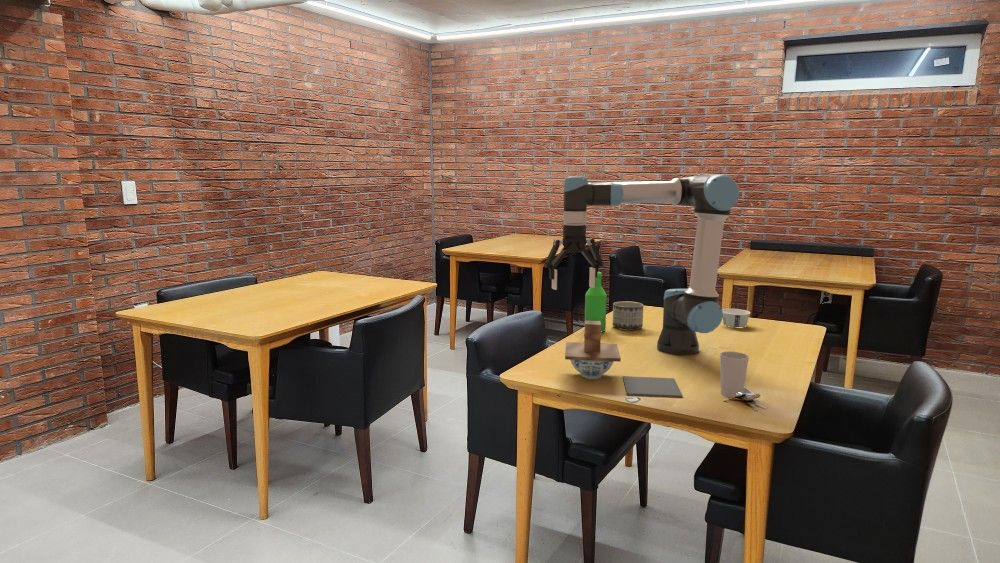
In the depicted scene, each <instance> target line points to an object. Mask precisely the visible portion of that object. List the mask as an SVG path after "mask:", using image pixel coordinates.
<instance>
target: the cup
mask: <svg viewBox="0 0 1000 563" xmlns="http://www.w3.org/2000/svg"><path fill="white" fill-rule="evenodd" d="M749 358H750V356H749V355H748V354H746V353H743V352H740V351H731V350H729V351H721V352H720V353H719V366H720V367H719V368H720V369H719V370H720V395H722V396H724V397H726V398H731V399H735V398H734V397H735V396H736V393H738V392H742V391H743V392H744V389H745V382H746V376H747V371H748V370H747V369H748V365H749Z"/></svg>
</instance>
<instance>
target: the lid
mask: <svg viewBox="0 0 1000 563" xmlns="http://www.w3.org/2000/svg"><path fill="white" fill-rule="evenodd" d="M583 339H584V342H577V341H576V342H575V341H572V342H571V341H569V342H568V341H566V342H565V353H564V354H565V355H564V360H568V361H570V360H593V361H614V362H619V363H620V362H621V359H622V358H621V354H620V350H619V346H618V343H601V340H602V332H601V322H600V321H585V320H584V338H583Z"/></svg>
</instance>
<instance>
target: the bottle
mask: <svg viewBox="0 0 1000 563" xmlns="http://www.w3.org/2000/svg"><path fill="white" fill-rule="evenodd" d="M602 277H603V273H602V272H600V271H597V277H595V288H592V287H589V288H588V290H587V291H586V292H585V295H584V296H585V297H584V300H585V301H584V322H585V321H600V322H601V331H603V332H604V331H605V330H606V327H607V326H606V325H607V324H606V322H607V300H608V299H607V296H608V295H607V293H606V291H605V289H604V288H603V286H602Z"/></svg>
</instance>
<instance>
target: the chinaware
mask: <svg viewBox="0 0 1000 563" xmlns="http://www.w3.org/2000/svg"><path fill="white" fill-rule="evenodd" d="M569 361H570V363H571V365H572V367H573V368H574V369H575V370H576V371H577V372H579V373H580V376H581V377H582V378H584V377H585V378H584V379H588V380H598V379H601V378H602V377H603V375H604V374H606V372H608V371H609V370H610V369H611V368H612V366H613V364H614V362H615V361H593V360H569Z"/></svg>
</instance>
